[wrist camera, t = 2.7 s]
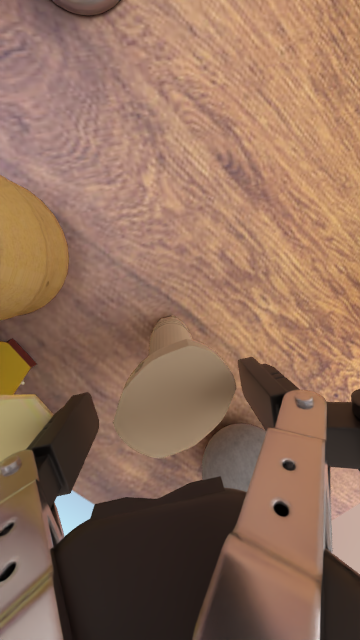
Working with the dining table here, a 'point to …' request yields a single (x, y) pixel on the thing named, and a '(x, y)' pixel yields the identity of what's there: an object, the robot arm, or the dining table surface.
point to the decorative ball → (233, 455)
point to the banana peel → (18, 402)
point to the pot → (28, 252)
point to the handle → (173, 393)
